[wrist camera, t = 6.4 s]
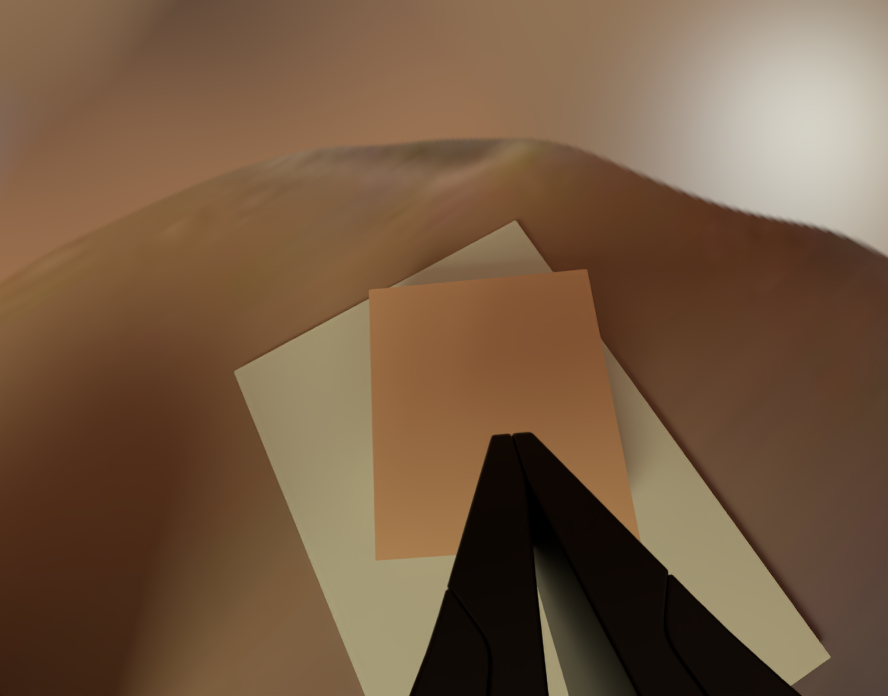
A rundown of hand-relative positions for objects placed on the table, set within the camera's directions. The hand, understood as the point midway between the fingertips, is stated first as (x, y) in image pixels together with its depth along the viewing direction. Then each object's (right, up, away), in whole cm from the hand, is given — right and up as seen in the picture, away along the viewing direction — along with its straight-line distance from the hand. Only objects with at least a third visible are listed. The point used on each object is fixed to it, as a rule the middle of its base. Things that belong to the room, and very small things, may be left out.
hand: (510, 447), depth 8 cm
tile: (+1, -4, +4) cm, 6 cm away
